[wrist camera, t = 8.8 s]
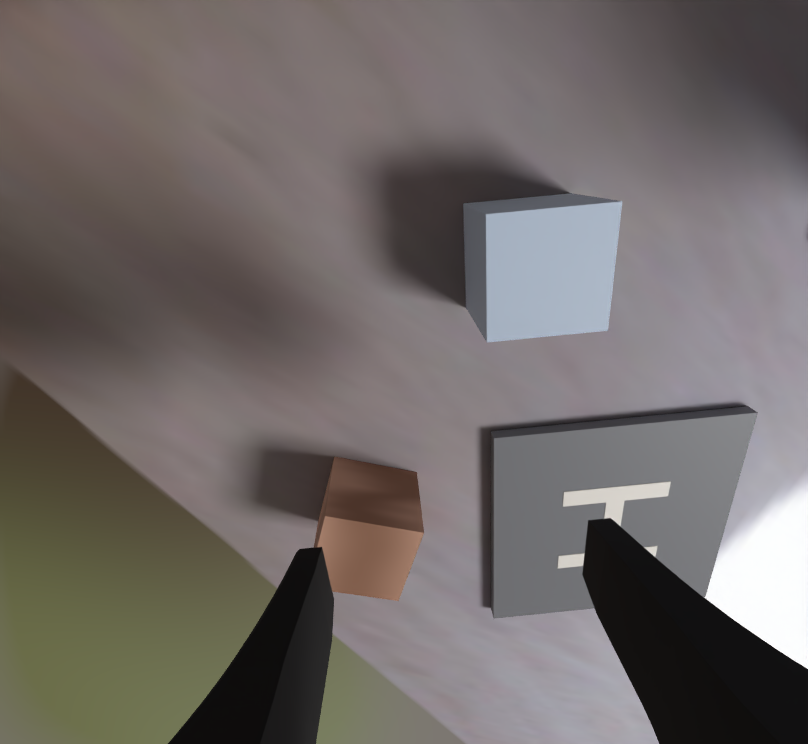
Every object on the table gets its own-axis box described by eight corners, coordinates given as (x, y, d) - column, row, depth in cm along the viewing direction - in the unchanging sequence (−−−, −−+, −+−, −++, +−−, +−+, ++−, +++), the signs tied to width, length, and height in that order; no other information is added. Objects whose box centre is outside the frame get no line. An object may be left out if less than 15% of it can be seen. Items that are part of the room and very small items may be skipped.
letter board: (747, 406, 21) (758, 412, 20) (698, 587, 26) (705, 597, 25) (490, 431, 21) (494, 438, 20) (491, 608, 26) (493, 618, 25)
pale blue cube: (569, 193, 17) (622, 201, 13) (563, 297, 18) (607, 330, 15) (463, 203, 17) (485, 213, 13) (465, 307, 18) (486, 342, 15)
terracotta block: (416, 471, 22) (423, 532, 18) (395, 532, 23) (398, 600, 20) (334, 455, 21) (325, 516, 18) (318, 519, 23) (306, 587, 19)
